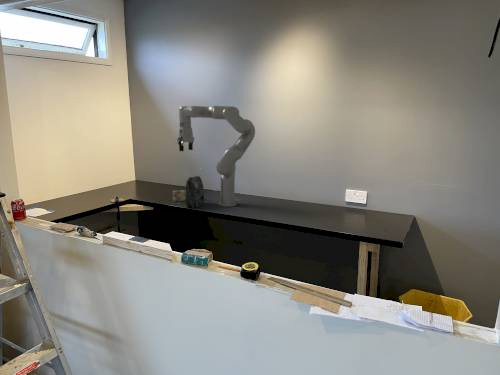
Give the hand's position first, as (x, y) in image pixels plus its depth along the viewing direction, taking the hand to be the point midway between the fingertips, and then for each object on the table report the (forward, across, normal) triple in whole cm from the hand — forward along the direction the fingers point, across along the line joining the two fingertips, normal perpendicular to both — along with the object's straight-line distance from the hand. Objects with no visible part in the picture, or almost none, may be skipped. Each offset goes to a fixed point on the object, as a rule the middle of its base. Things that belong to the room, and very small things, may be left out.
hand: (186, 150), depth 239 cm
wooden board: (+36, +2, +2) cm, 36 cm away
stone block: (+36, -5, -12) cm, 38 cm away
